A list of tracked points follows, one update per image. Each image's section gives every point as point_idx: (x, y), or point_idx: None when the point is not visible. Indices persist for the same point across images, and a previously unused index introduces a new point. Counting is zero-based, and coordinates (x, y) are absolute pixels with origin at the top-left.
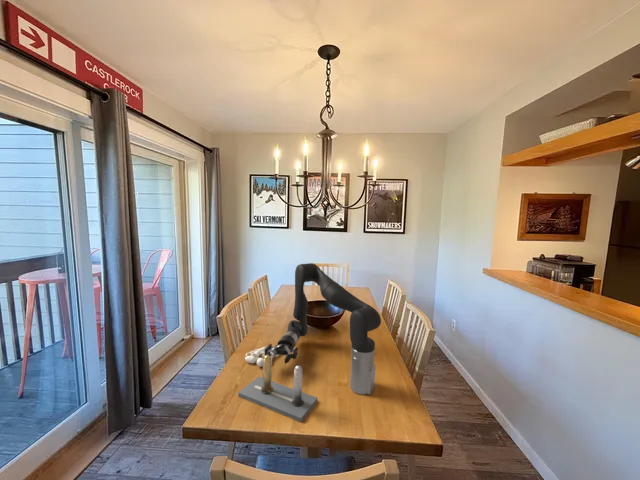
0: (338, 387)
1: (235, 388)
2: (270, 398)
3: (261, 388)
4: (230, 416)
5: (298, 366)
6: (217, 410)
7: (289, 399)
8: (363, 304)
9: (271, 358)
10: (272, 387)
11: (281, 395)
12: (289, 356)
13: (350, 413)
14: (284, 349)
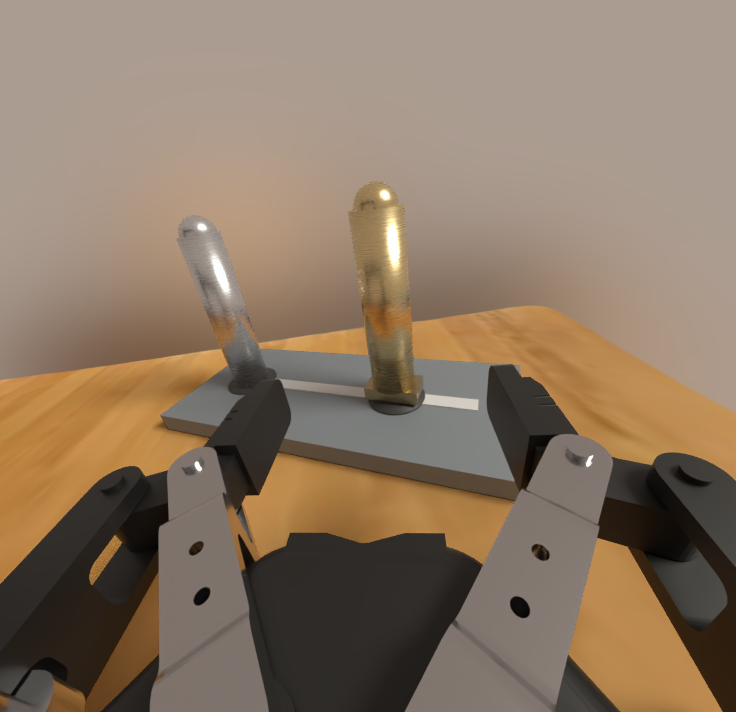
0: None
1: (586, 409)
2: (364, 373)
3: (420, 377)
4: (464, 332)
5: (192, 216)
6: (523, 333)
7: (285, 383)
8: None
9: (349, 214)
10: (368, 387)
11: (320, 389)
12: (218, 435)
13: (76, 410)
14: (281, 598)
